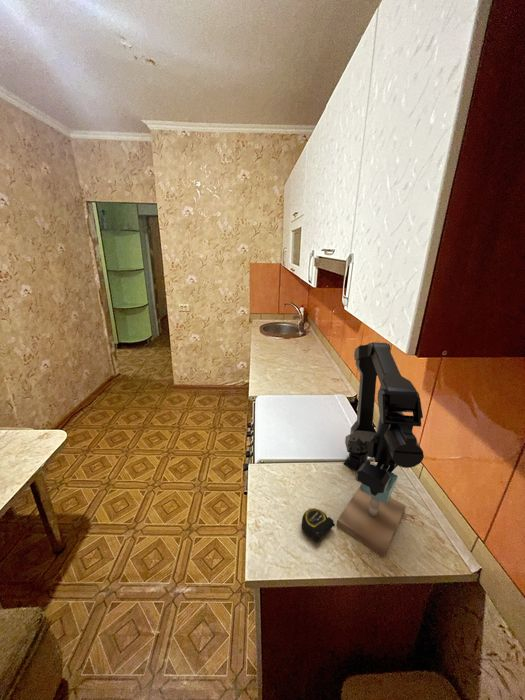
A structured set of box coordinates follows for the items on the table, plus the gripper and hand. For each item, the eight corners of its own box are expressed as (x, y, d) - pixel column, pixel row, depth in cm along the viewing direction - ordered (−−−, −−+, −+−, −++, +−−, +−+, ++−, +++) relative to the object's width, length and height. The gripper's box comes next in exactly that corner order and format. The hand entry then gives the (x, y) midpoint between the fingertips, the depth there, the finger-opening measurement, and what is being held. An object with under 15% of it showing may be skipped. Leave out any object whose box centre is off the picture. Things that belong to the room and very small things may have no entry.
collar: (370, 474, 78) (372, 463, 76) (394, 487, 74) (398, 475, 72) (360, 489, 73) (362, 477, 72) (386, 504, 69) (389, 492, 68)
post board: (361, 487, 86) (366, 464, 83) (404, 510, 79) (411, 486, 76) (336, 525, 75) (340, 500, 72) (383, 557, 68) (390, 531, 65)
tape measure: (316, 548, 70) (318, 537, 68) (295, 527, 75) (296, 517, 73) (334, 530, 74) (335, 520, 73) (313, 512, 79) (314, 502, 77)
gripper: (370, 404, 79) (362, 451, 84) (338, 439, 65) (331, 491, 71) (415, 421, 72) (402, 470, 78) (389, 464, 59) (376, 519, 65)
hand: (378, 485), depth 73 cm, fingers closed on collar, 6 cm apart
